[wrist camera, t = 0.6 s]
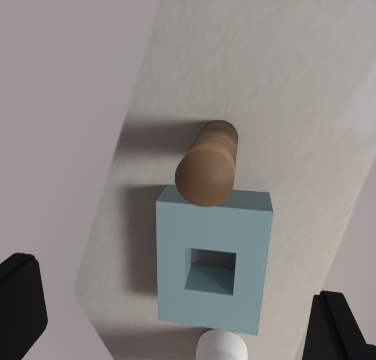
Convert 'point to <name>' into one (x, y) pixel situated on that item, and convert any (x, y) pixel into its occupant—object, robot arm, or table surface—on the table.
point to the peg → (209, 166)
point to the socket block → (210, 275)
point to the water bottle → (220, 346)
